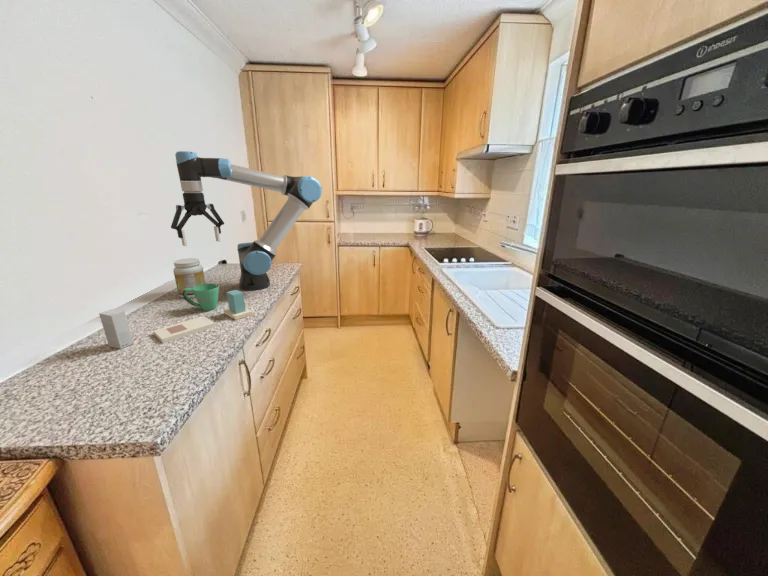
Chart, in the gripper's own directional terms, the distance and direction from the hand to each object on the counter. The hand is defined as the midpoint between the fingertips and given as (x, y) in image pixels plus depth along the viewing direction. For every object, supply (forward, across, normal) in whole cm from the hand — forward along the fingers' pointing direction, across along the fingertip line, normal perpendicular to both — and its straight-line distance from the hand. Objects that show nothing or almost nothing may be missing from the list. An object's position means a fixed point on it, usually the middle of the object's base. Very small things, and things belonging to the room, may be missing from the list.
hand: (202, 243), depth 136 cm
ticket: (+27, +19, +24) cm, 41 cm away
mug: (+27, +7, +7) cm, 29 cm away
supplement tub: (+27, +2, -16) cm, 31 cm away
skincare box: (+27, +38, +20) cm, 50 cm away
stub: (+27, 0, +24) cm, 36 cm away
